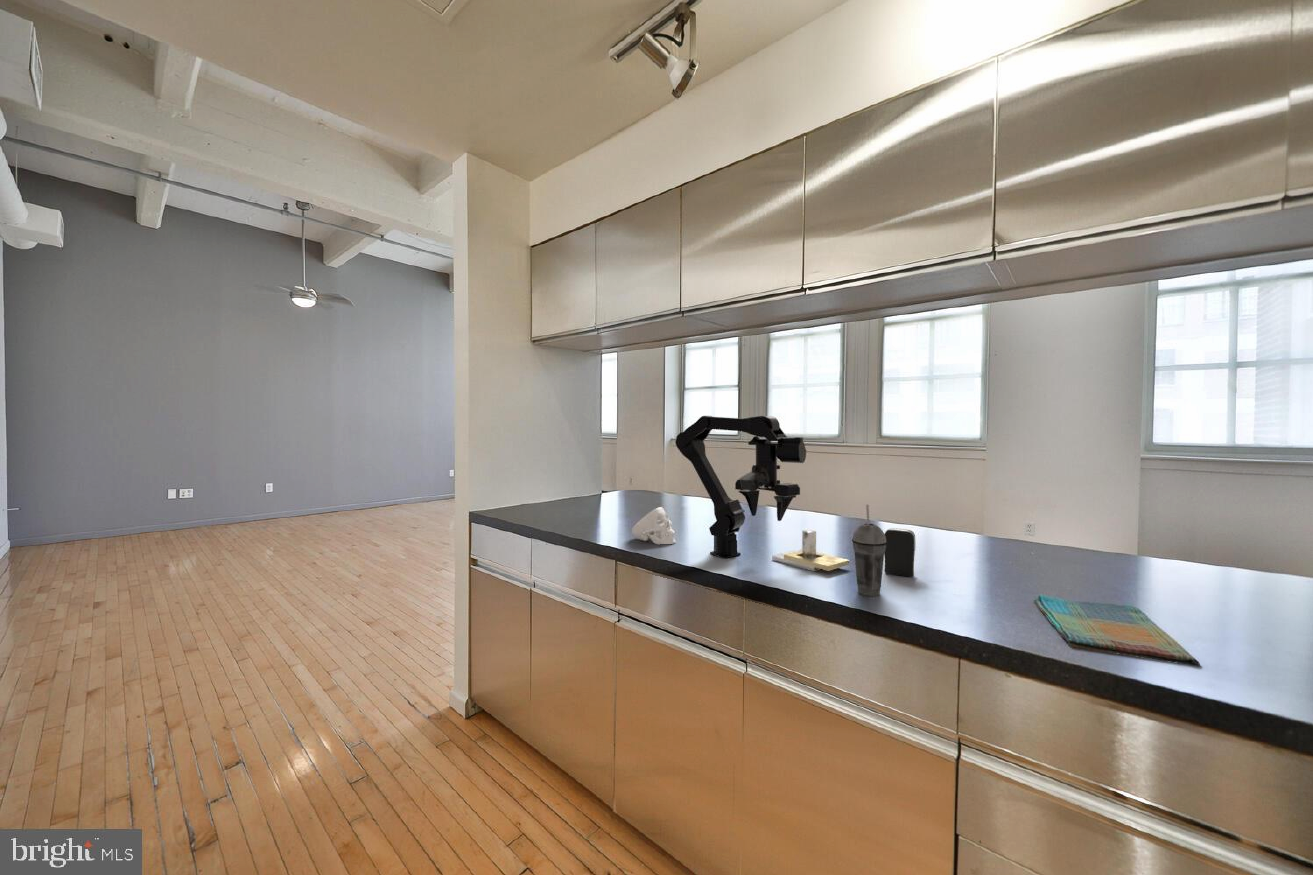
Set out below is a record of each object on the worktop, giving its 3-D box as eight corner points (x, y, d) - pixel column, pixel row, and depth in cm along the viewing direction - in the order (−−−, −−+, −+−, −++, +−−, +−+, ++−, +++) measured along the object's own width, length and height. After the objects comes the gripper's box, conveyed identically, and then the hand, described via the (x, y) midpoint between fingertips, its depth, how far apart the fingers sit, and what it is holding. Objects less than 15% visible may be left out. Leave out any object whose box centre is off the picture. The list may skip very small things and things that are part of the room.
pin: (799, 564, 135) (799, 531, 135) (807, 561, 137) (807, 529, 137) (810, 567, 132) (810, 533, 132) (818, 564, 134) (819, 531, 134)
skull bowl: (670, 543, 153) (651, 508, 156) (639, 562, 160) (622, 527, 163) (687, 536, 162) (670, 503, 165) (657, 554, 169) (641, 522, 172)
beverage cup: (891, 592, 113) (892, 503, 112) (879, 600, 107) (880, 507, 107) (858, 585, 118) (859, 500, 117) (846, 593, 112) (846, 504, 112)
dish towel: (1139, 617, 99) (1140, 605, 99) (1204, 671, 78) (1204, 654, 78) (1032, 604, 106) (1033, 592, 106) (1065, 649, 85) (1065, 634, 85)
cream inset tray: (772, 559, 139) (772, 551, 139) (793, 554, 145) (793, 546, 145) (828, 575, 125) (828, 566, 125) (849, 569, 130) (849, 560, 130)
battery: (916, 574, 126) (916, 529, 125) (914, 578, 122) (914, 531, 122) (886, 569, 130) (886, 526, 129) (883, 573, 126) (883, 528, 126)
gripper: (721, 461, 140) (721, 516, 140) (773, 465, 125) (773, 527, 125) (748, 459, 147) (749, 512, 147) (801, 463, 131) (801, 522, 132)
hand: (766, 518), depth 138 cm, fingers open, 9 cm apart
